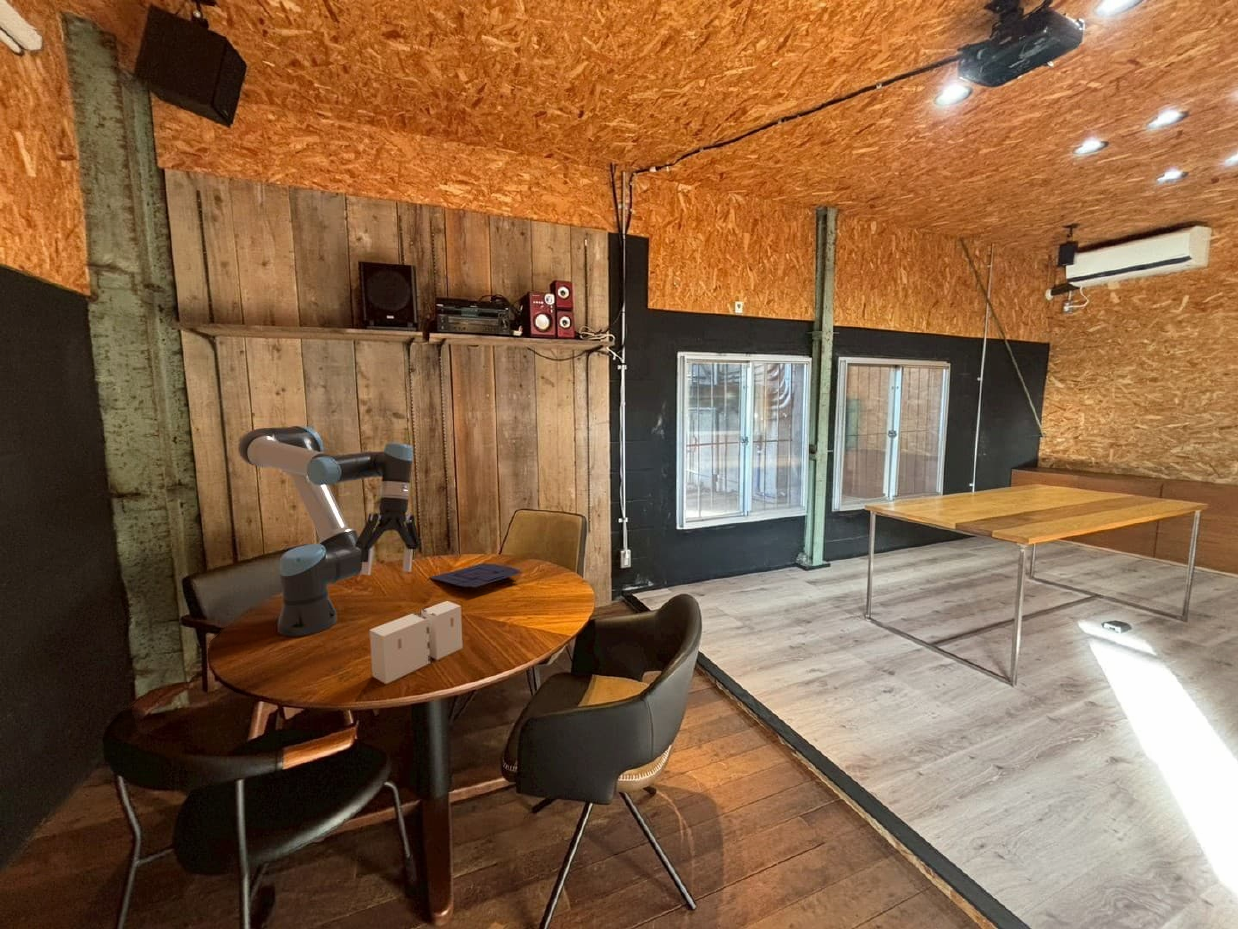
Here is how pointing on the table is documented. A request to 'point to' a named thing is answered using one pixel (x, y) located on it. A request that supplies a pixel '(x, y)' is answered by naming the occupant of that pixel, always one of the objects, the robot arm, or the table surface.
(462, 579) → the navy flat slab
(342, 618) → the table surface
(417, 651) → the white slotted block
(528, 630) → the table surface
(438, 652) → the stub
